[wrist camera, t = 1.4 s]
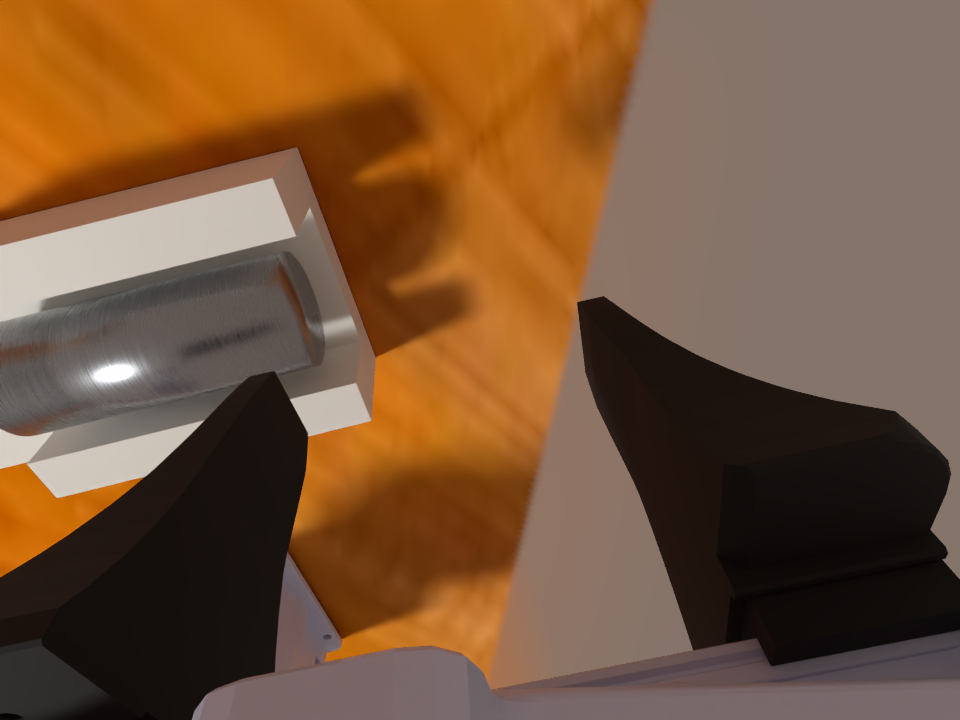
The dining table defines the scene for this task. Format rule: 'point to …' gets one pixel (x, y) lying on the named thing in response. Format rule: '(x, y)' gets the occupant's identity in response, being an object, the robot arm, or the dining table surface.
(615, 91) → the dining table surface
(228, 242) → the white channel tray
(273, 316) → the axle
